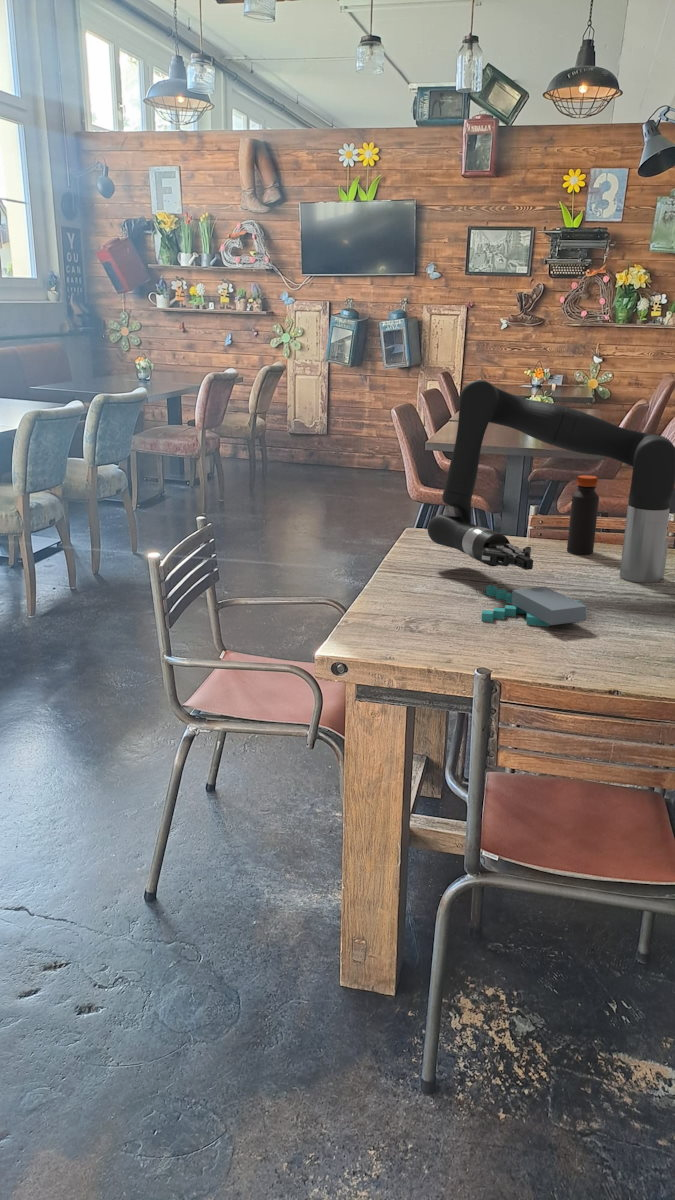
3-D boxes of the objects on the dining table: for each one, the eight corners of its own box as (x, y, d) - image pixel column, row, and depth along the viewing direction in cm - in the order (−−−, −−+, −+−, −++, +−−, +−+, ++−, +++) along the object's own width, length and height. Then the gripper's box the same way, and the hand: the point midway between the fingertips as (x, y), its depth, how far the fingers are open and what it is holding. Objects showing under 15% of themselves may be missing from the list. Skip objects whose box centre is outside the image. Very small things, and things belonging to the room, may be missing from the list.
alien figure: (481, 623, 172) (583, 632, 169) (481, 613, 172) (584, 621, 168) (486, 594, 191) (578, 601, 187) (486, 585, 190) (579, 592, 186)
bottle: (597, 554, 224) (606, 478, 218) (574, 555, 222) (581, 479, 216) (585, 548, 230) (593, 474, 224) (562, 549, 229) (569, 474, 222)
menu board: (545, 586, 180) (586, 606, 167) (544, 600, 180) (585, 620, 168) (512, 590, 177) (552, 610, 164) (511, 604, 178) (550, 625, 165)
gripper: (461, 531, 191) (504, 550, 175) (511, 527, 196) (557, 545, 180) (459, 564, 193) (501, 585, 178) (508, 559, 198) (554, 579, 183)
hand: (529, 564), depth 179 cm, fingers closed
